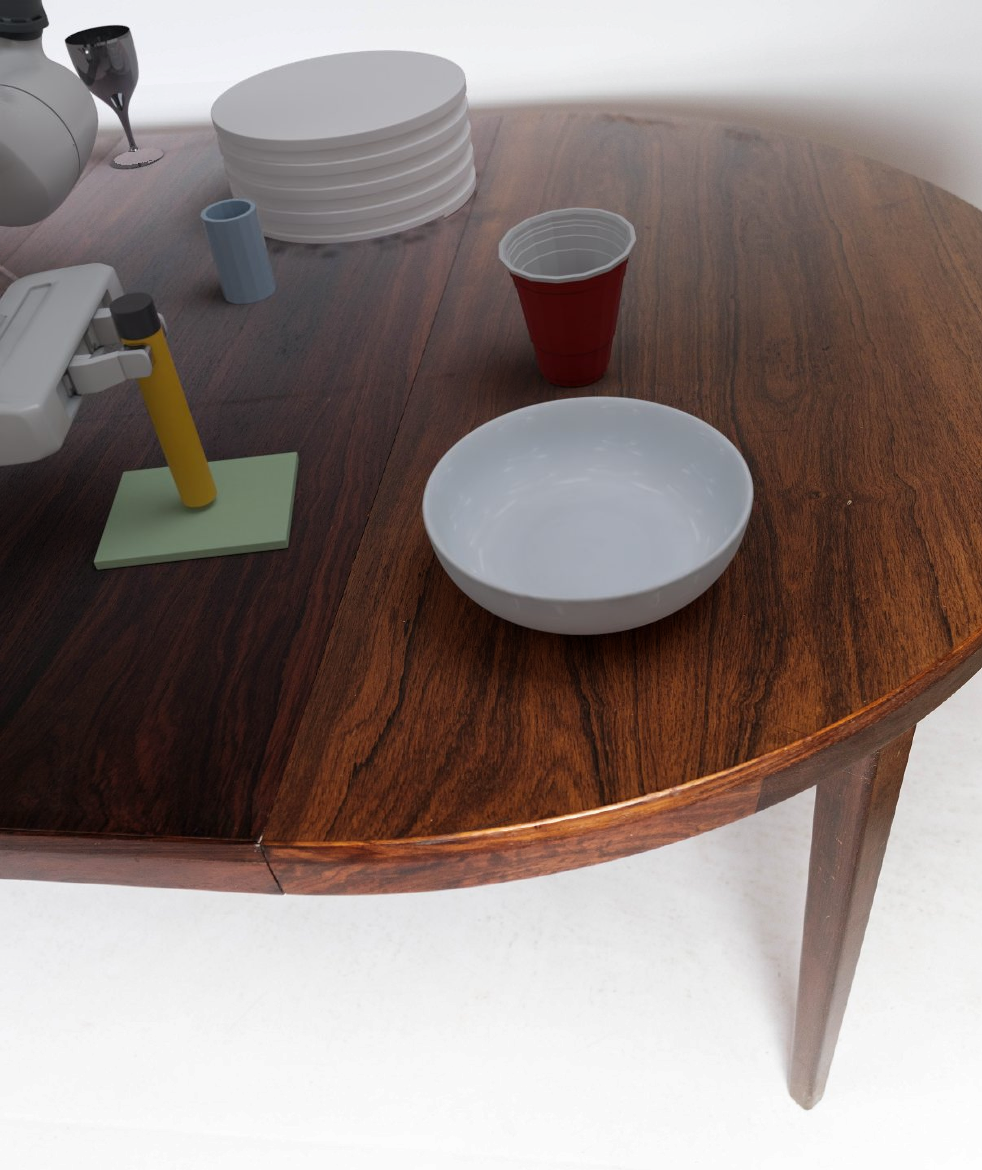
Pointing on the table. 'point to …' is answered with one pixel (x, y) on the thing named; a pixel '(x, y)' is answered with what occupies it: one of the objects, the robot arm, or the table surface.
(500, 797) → the table surface
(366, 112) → the plate stack
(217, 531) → the felt mat
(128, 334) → the marker
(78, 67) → the wine glass
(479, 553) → the serving bowl
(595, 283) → the plastic cup
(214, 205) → the pen pot
